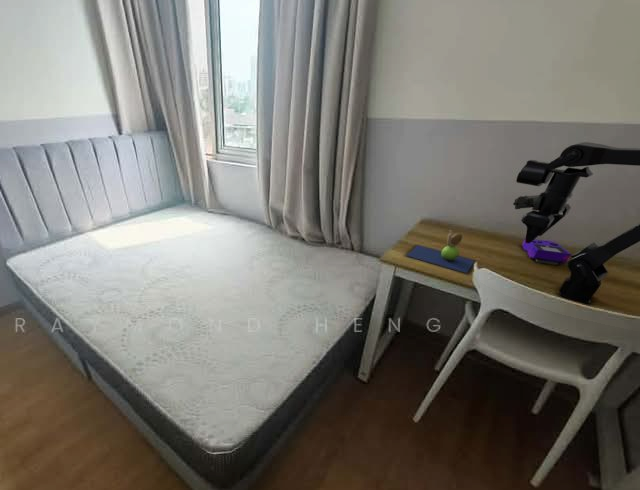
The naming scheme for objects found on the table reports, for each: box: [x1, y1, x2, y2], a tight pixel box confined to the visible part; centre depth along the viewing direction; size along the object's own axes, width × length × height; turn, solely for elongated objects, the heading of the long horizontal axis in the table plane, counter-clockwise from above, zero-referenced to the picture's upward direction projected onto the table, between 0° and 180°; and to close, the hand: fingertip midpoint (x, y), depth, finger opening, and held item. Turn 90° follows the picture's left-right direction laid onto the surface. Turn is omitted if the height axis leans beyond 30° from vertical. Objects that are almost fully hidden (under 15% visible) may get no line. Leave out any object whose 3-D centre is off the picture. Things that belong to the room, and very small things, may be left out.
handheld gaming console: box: [522, 237, 572, 266], centre depth 115 cm, size 9×5×15 cm
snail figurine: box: [441, 229, 463, 260], centre depth 111 cm, size 5×6×12 cm
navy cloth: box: [406, 245, 476, 275], centre depth 116 cm, size 20×12×1 cm, turn 46°
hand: (533, 239), depth 98 cm, fingers open, 9 cm apart
